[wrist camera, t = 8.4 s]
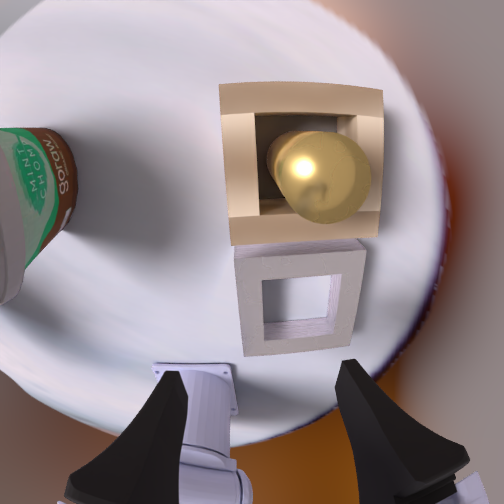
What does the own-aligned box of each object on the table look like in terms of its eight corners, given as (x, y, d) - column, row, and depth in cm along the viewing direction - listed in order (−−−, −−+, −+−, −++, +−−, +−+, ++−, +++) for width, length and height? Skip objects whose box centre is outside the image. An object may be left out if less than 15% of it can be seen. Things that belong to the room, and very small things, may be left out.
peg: (326, 188, 18) (368, 221, 12) (268, 191, 18) (283, 226, 12) (325, 130, 16) (371, 134, 10) (264, 131, 16) (279, 132, 10)
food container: (119, 204, 18) (37, 272, 9) (71, 244, 19) (-2, 315, 10) (50, 80, 13) (-45, 77, 4) (9, 131, 14) (-77, 154, 5)
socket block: (342, 329, 23) (349, 345, 22) (243, 338, 23) (243, 356, 21) (355, 237, 20) (366, 250, 18) (234, 245, 20) (233, 259, 18)
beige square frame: (356, 218, 19) (377, 237, 16) (232, 225, 19) (231, 245, 16) (358, 95, 15) (382, 90, 12) (223, 93, 15) (218, 84, 12)
